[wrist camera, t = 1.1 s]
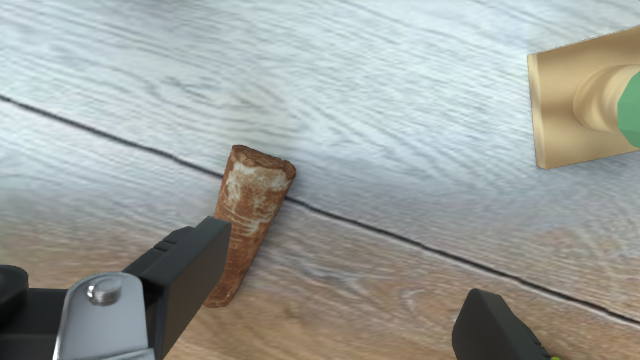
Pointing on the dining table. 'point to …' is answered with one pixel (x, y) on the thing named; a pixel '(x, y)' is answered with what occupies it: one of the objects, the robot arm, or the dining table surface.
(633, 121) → the ring
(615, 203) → the dining table surface
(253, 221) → the brown piece
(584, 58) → the peg stand
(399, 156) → the dining table surface
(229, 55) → the dining table surface
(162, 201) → the dining table surface
